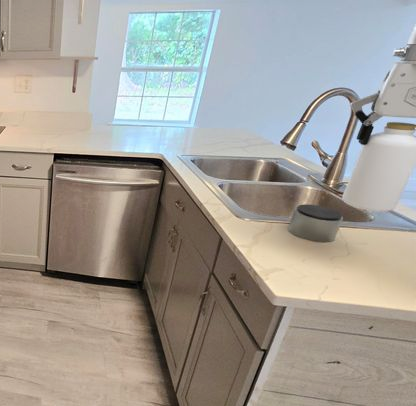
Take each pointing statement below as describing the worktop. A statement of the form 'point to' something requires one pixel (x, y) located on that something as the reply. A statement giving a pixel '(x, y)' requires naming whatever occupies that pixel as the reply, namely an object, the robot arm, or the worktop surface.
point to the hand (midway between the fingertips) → (392, 145)
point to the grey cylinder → (315, 223)
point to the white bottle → (383, 169)
